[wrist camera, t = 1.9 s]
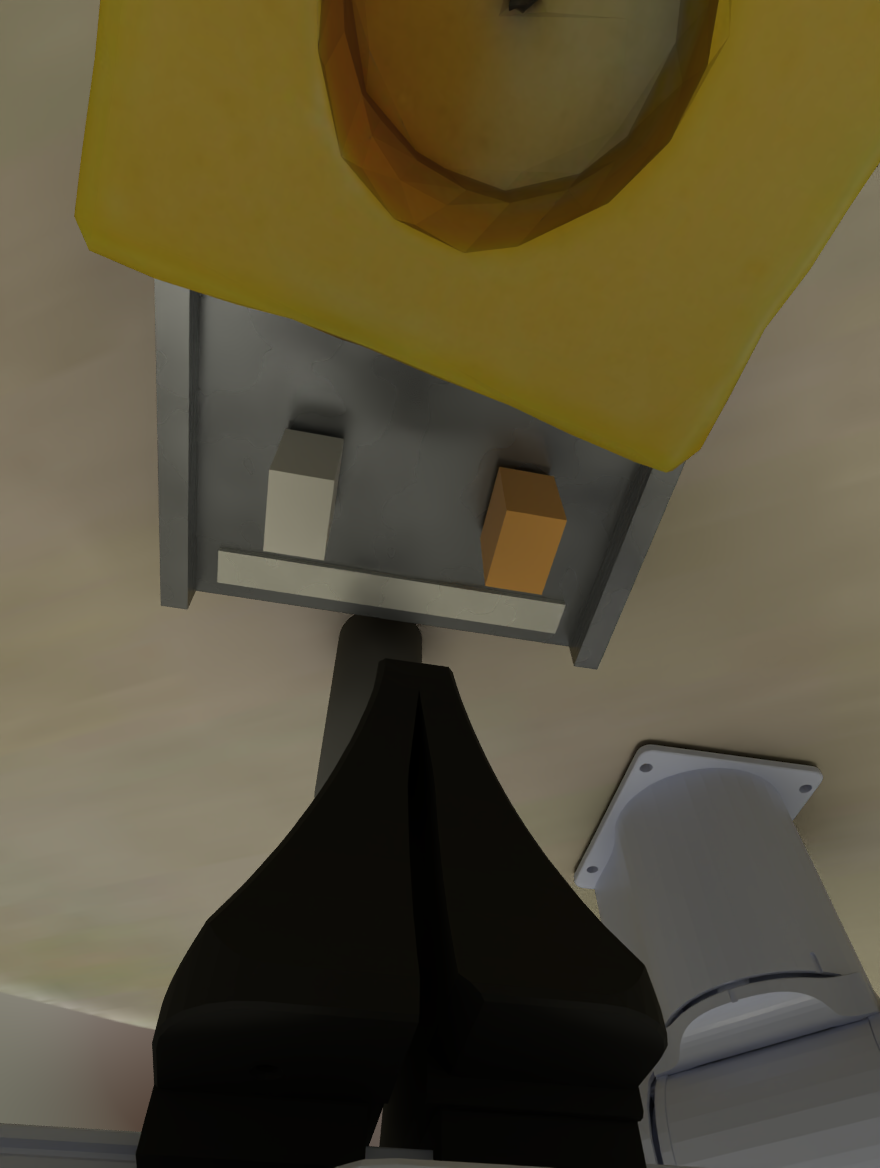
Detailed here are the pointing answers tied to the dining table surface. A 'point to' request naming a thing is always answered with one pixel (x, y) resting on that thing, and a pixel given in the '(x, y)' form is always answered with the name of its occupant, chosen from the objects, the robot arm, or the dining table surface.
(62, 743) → the dining table surface
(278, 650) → the dining table surface
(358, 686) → the post
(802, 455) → the dining table surface
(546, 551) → the tan rectangular prism
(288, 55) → the candle
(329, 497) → the upright cream block
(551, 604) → the grey tray
